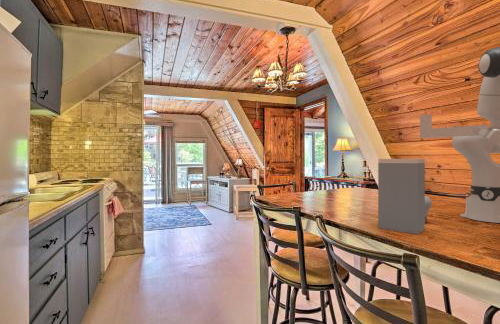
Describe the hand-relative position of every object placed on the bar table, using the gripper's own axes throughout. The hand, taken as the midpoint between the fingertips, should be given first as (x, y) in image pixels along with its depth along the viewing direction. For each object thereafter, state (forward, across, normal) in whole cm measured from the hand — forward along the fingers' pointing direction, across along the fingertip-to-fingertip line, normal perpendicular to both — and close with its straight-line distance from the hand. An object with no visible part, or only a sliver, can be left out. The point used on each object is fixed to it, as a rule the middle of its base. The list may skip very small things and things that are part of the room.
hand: (474, 129), depth 87 cm
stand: (+1, 0, +41) cm, 41 cm away
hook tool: (+4, 0, +5) cm, 6 cm away
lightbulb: (-2, -17, +40) cm, 43 cm away
